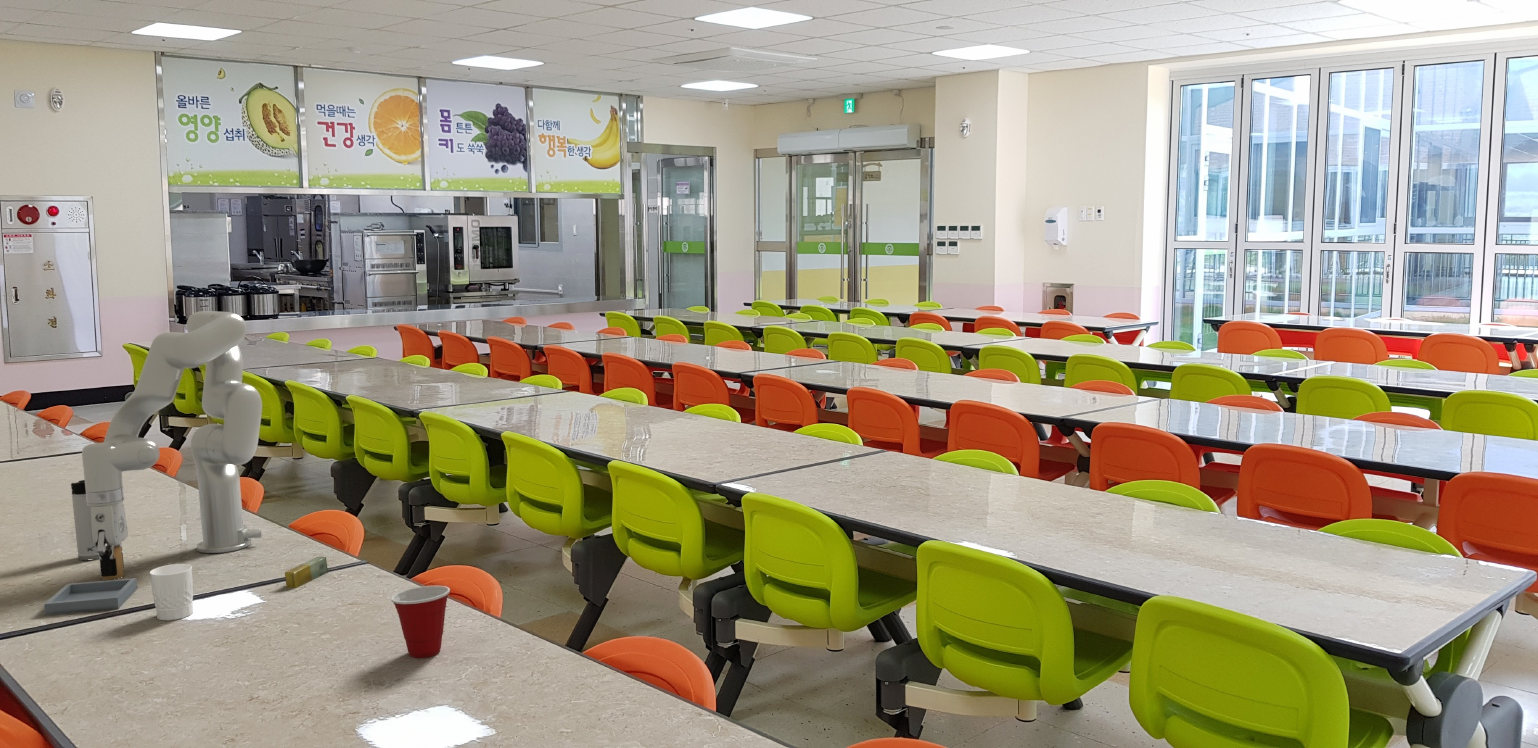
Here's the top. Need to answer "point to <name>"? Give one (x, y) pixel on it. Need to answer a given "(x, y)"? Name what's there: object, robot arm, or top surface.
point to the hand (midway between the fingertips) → (112, 571)
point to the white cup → (172, 591)
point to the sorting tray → (91, 596)
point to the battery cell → (118, 563)
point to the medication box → (306, 572)
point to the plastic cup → (422, 618)
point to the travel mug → (83, 522)
